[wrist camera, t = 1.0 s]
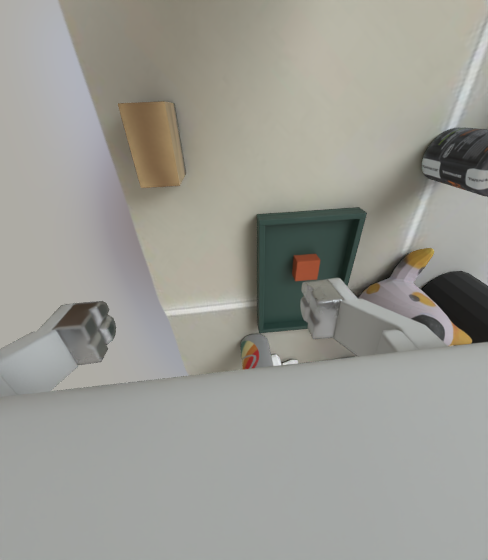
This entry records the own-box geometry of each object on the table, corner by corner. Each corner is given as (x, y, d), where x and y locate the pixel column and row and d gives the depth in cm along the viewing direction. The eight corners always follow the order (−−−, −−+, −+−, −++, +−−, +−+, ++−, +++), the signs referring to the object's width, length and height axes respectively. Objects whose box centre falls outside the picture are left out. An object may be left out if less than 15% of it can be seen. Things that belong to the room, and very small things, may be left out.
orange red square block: (293, 255, 37) (297, 261, 35) (316, 253, 37) (320, 260, 35) (291, 274, 39) (295, 281, 37) (313, 272, 39) (317, 279, 37)
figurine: (332, 326, 44) (404, 372, 30) (361, 236, 42) (454, 239, 28) (382, 335, 48) (467, 380, 34) (411, 253, 46) (516, 263, 31)
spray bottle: (234, 342, 48) (242, 461, 32) (256, 328, 46) (277, 446, 30) (252, 355, 51) (267, 470, 35) (273, 342, 49) (300, 457, 33)
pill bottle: (414, 182, 32) (492, 210, 23) (427, 131, 29) (525, 141, 20) (458, 175, 32) (553, 200, 23) (476, 123, 29) (597, 128, 20)
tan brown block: (153, 175, 29) (140, 188, 24) (136, 104, 25) (117, 103, 20) (186, 173, 29) (180, 185, 25) (174, 103, 25) (164, 101, 21)
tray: (256, 214, 33) (259, 220, 31) (358, 207, 34) (367, 212, 32) (257, 324, 46) (259, 333, 44) (332, 317, 46) (336, 326, 44)
